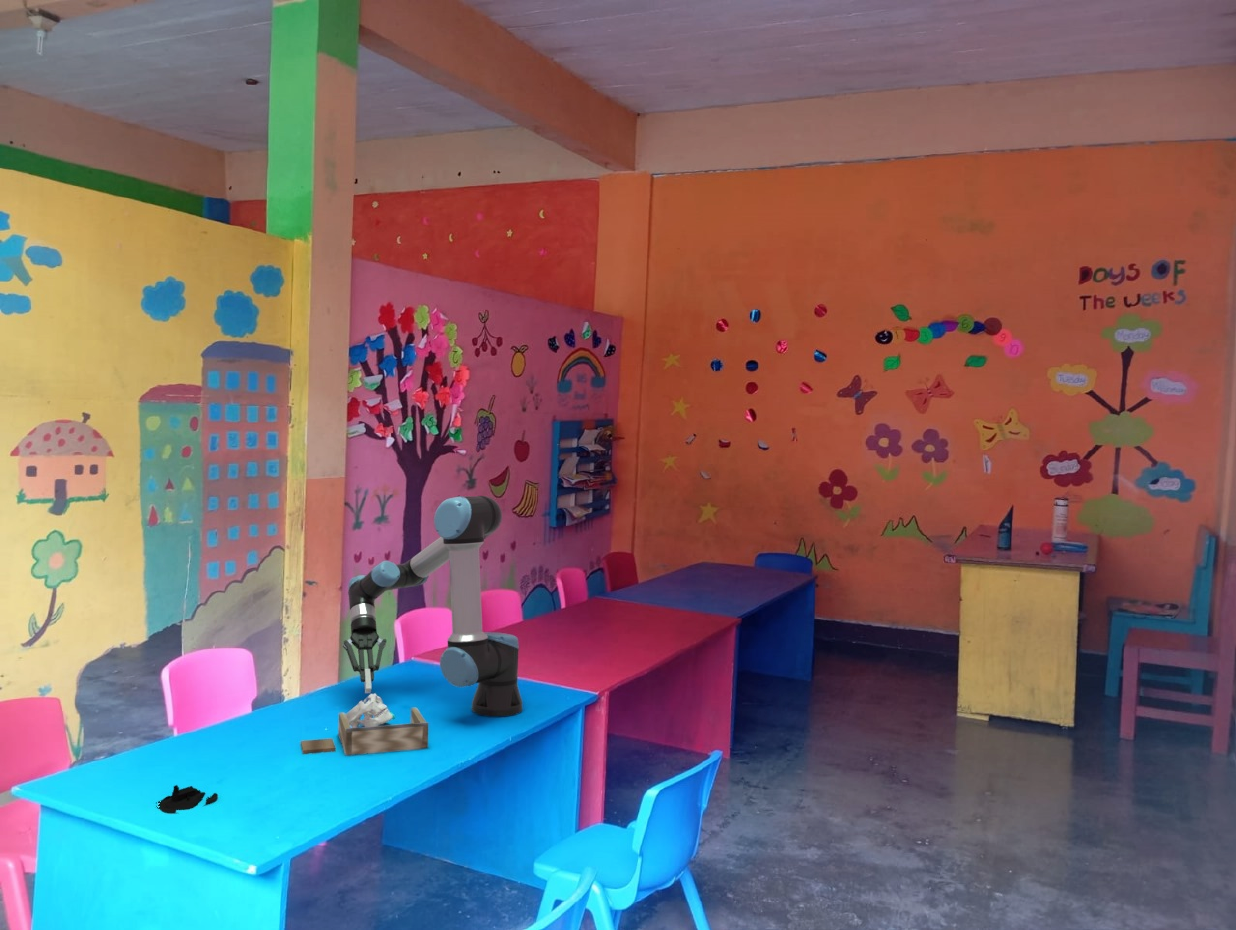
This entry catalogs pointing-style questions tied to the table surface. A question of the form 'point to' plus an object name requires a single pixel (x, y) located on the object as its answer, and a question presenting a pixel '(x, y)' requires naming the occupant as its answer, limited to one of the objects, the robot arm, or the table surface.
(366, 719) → the white rock
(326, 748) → the lid plate
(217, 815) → the table surface
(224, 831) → the table surface
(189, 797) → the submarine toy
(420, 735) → the brown wooden box
